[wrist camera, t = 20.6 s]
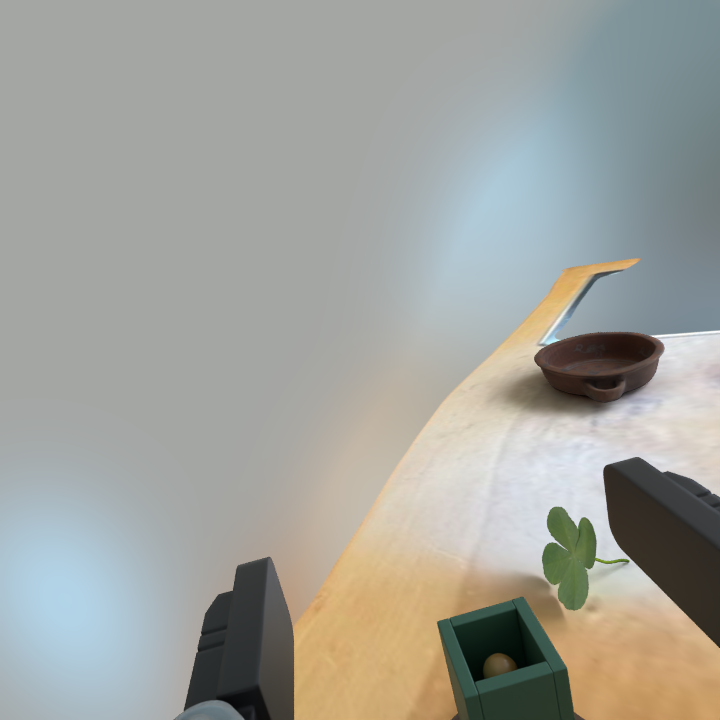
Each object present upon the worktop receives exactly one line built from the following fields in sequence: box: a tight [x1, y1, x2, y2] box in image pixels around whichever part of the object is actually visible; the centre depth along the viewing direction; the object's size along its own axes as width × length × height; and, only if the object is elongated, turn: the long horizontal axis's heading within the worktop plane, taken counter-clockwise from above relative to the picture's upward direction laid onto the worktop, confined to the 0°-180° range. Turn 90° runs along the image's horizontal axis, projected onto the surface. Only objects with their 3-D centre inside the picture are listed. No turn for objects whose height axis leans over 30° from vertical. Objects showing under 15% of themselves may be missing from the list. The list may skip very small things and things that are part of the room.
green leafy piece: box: [542, 507, 629, 610], centre depth 44 cm, size 7×8×6 cm
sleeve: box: [437, 597, 575, 720], centre depth 29 cm, size 5×5×9 cm
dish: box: [534, 332, 665, 402], centre depth 80 cm, size 18×22×5 cm
